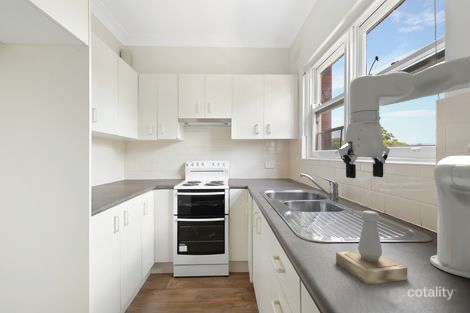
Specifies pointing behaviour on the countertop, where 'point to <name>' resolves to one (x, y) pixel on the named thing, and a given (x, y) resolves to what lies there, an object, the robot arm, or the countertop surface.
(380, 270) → the base board
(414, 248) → the countertop surface
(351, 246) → the countertop surface
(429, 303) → the countertop surface
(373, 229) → the salt shaker
